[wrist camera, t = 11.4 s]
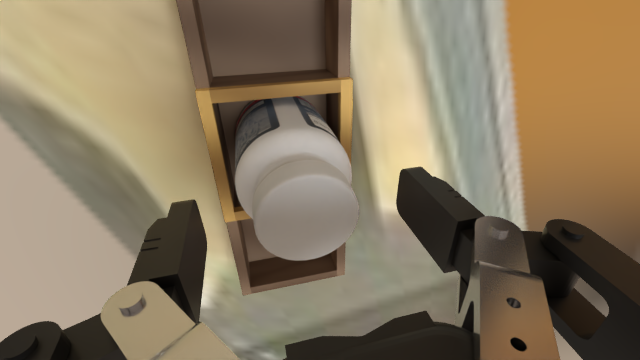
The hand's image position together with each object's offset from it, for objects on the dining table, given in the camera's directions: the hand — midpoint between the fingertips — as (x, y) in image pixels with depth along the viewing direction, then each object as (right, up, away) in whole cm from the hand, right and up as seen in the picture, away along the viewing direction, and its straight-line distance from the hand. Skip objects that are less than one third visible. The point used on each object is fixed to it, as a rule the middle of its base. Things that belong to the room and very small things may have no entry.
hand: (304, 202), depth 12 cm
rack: (-2, +4, +8) cm, 9 cm away
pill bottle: (-2, +4, +7) cm, 8 cm away
